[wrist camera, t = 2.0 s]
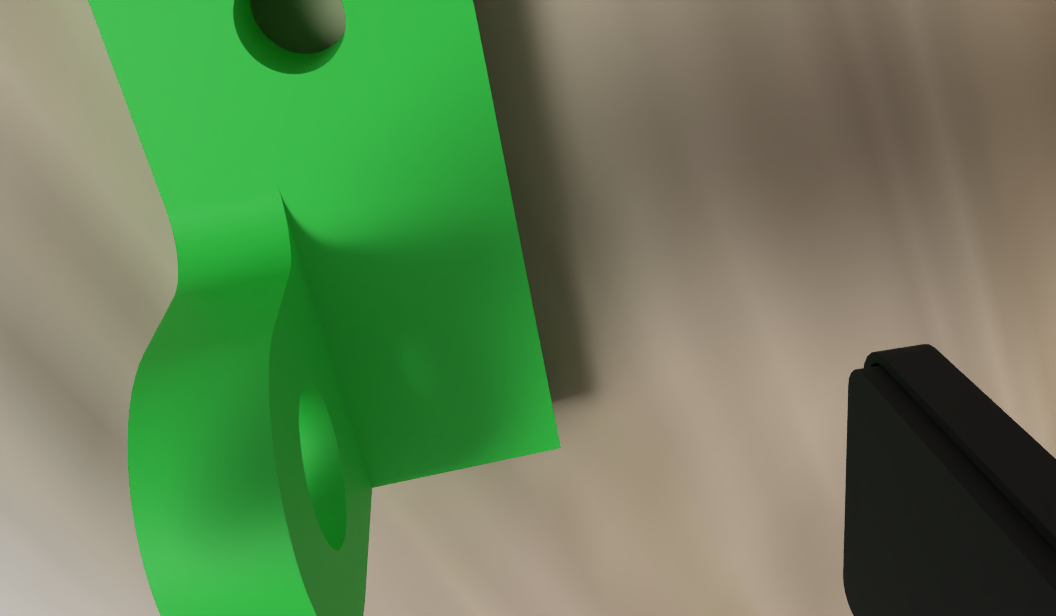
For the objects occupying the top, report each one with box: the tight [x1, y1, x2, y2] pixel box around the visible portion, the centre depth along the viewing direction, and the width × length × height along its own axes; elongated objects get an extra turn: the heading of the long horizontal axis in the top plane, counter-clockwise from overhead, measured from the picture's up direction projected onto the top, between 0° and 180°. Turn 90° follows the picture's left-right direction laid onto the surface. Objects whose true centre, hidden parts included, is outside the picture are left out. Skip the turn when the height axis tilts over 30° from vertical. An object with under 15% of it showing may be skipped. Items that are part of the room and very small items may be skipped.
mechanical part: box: [88, 0, 561, 616], centre depth 15 cm, size 12×6×8 cm, turn 10°
